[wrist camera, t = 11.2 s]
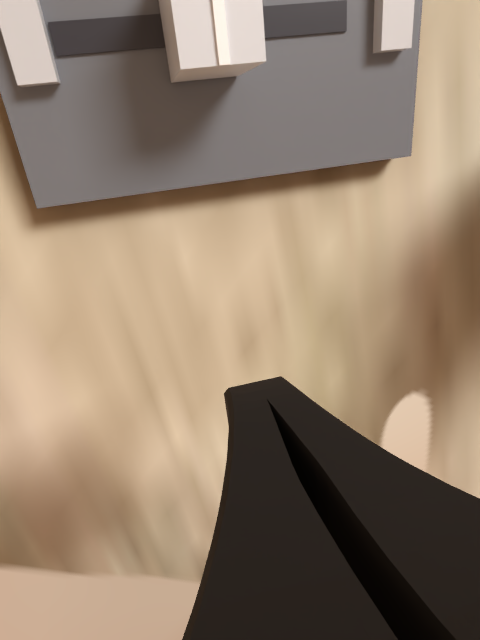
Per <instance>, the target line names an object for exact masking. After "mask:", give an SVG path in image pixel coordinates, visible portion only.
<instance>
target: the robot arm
mask: <svg viewBox="0 0 480 640" xmlns="http://www.w3.org/2000/svg"><path fill="white" fill-rule="evenodd" d="M224 397H225V403H226V410H227V417H228V423H229V436H228V452H227V463H226V469H225V476H224V483H223V490H222V496H221V502H220V507H219V512H218V517H217V522H216V526H215V530H214V535H213V539H212V543H211V547H210V551H209V554H208V558H207V562H206V565H205V569H204V573H203V576H202V580H201V584H200V587H199V590H198V594H197V597H196V600H195V603H194V607H193V610H192V613H191V616H190V619H189V622H188V624H187V627H186V630H185V633H184V636H183V639H182V640H480V499H479V498H477V497H475V496H473V495H470V494H468V493H466V492H464V491H462V490H460V489H458V488H455V487H453V486H451V485H449V484H447V483H445V482H443V481H441V480H439V479H437V478H435V477H434V476H432V475H430V474H428V473H426V472H424V471H422V470H420V469H418V468H416V467H414V466H412V465H410V464H409V463H407V462H405V461H403V460H402V459H399V458H398V457H396V456H394V455H393V454H391V453H389V452H387V451H386V450H385V449H383V448H381V447H380V446H378V445H376V444H375V443H373V442H371V441H370V440H368V439H367V438H365V437H364V436H362V435H361V434H359V433H358V432H356V431H355V430H353V429H352V428H350V427H349V426H347V425H346V424H344V423H343V422H342V421H340V420H339V419H337V418H336V417H334V416H333V415H332V414H330V413H329V412H327V411H326V410H325V409H323V408H322V407H321V406H319V405H318V404H317V403H315V402H314V401H313V400H311V399H310V398H309V397H307V396H306V395H305V394H303V393H302V392H301V391H300V390H298V389H297V388H296V387H294V386H293V385H292V384H291V383H289V382H288V381H287V380H285V379H284V378H282V377H276V378H272V379H267V380H262V381H258V382H253V383H249V384H244V385H240V386H235V387H231V388H228V389H227V390H226V392H225V393H224Z"/></svg>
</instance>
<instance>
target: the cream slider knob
mask: <svg viewBox="0 0 480 640" xmlns="http://www.w3.org/2000/svg"><path fill="white" fill-rule="evenodd" d="M158 1H159V8H160V14H161V20H162V27H163V33H164V40H165V46H166V53H167V59H168V66H169V72H170V79H171V83H173V82H183V81H193V80H203V79H213V78H224V77H234V76H240V75H242V74H243V73H245V72H247V71H249V70H251V69H253V68H255V67H256V66H258V65H260V64H262V63H264V62H266V49H265V34H264V18H263V3H262V0H158Z"/></svg>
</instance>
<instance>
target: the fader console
mask: <svg viewBox="0 0 480 640" xmlns="http://www.w3.org/2000/svg"><path fill="white" fill-rule="evenodd" d="M262 3H263V18H264V34H265V49H266V62H264V63H262V64H260V65H258V66H256V67H255V68H253V69H251V70H249V71H247V72H245V73H243V74H242V75H240V76H234V77H224V78H213V79H203V80H193V81H183V82H173V83H171V79H170V72H169V66H168V59H167V53H166V46H165V40H164V33H163V27H162V20H161V14H160V8H159V1H158V0H0V93H1V96H2V99H3V102H4V106H5V109H6V112H7V115H8V118H9V121H10V125H11V128H12V131H13V134H14V137H15V140H16V144H17V147H18V150H19V153H20V156H21V159H22V163H23V166H24V169H25V172H26V175H27V178H28V182H29V185H30V188H31V191H32V194H33V197H34V201H35V204H36V207H37V208H44V207H52V206H59V205H66V204H73V203H80V202H87V201H94V200H101V199H109V198H116V197H123V196H130V195H137V194H144V193H151V192H158V191H166V190H173V189H180V188H187V187H194V186H201V185H208V184H215V183H222V182H230V181H237V180H244V179H251V178H258V177H265V176H272V175H279V174H287V173H294V172H301V171H308V170H315V169H322V168H329V167H336V166H344V165H351V164H358V163H365V162H372V161H379V160H386V159H393V158H401V157H408V156H411V150H412V137H413V123H414V109H415V95H416V82H417V68H418V54H419V40H420V27H421V13H422V0H262Z"/></svg>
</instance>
